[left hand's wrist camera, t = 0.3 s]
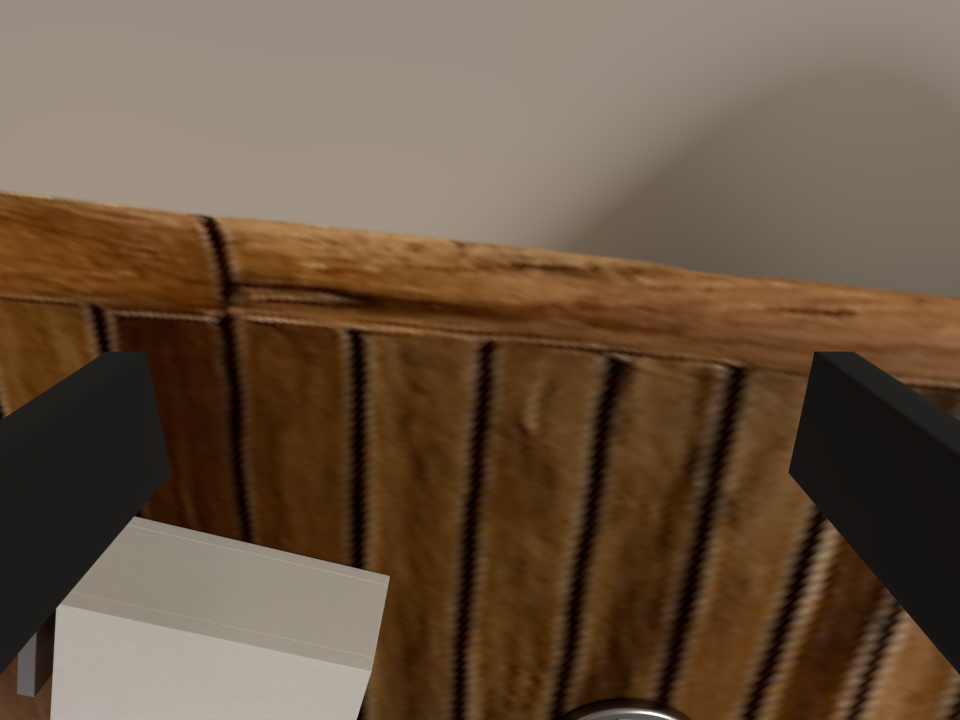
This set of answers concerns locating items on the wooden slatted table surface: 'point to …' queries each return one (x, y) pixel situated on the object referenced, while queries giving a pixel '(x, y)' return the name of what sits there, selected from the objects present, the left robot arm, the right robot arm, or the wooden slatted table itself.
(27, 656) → the drawer
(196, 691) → the cabinet
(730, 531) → the wooden slatted table surface
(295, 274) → the wooden slatted table surface
